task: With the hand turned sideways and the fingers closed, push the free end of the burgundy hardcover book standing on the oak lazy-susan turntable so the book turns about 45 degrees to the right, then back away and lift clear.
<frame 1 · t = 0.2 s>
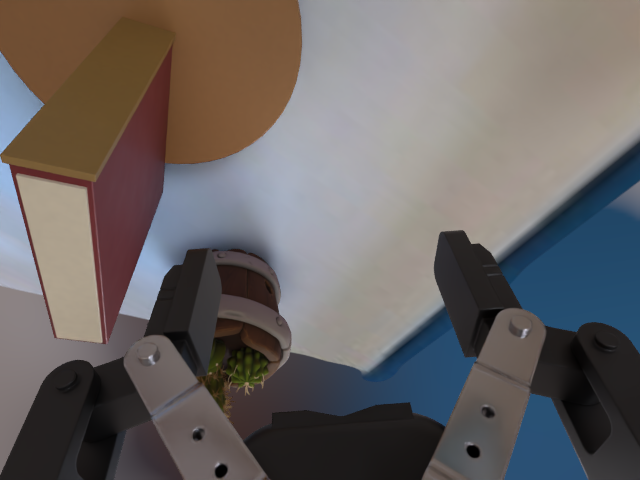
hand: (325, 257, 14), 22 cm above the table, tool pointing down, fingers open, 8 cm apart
flowerpot: (232, 272, 50), on the table
book: (116, 114, 23), point 10 cm above the table, hinge at 0.0°
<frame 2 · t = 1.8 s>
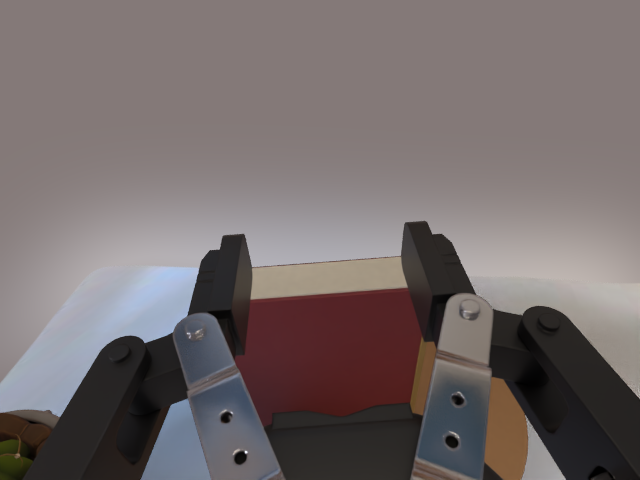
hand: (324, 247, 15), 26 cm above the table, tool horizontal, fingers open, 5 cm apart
book: (382, 352, 30), point 10 cm above the table, hinge at 0.0°
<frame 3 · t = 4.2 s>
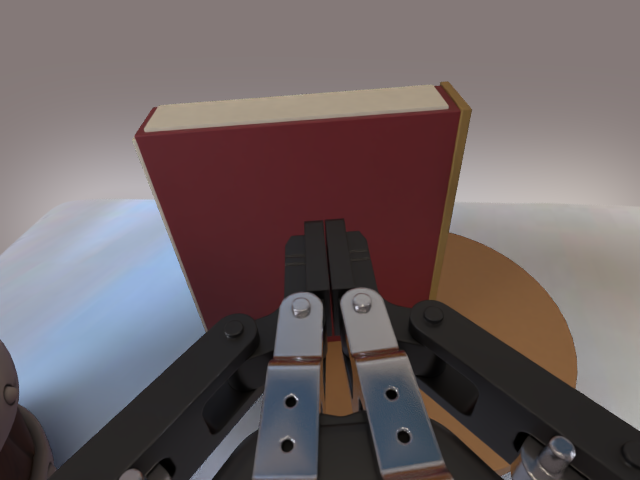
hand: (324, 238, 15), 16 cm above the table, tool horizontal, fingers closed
book: (392, 240, 23), point 10 cm above the table, hinge at 0.0°
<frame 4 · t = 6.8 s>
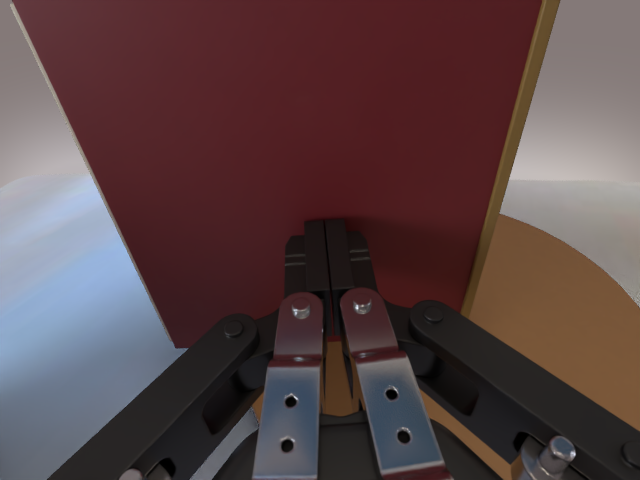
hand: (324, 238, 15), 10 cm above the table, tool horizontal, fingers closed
book: (419, 201, 16), point 10 cm above the table, hinge at 1.6°, touching gripper
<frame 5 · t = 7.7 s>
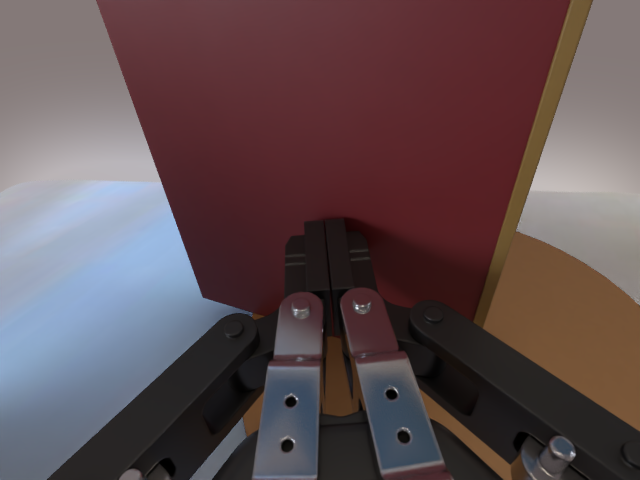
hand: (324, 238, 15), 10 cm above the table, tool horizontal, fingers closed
book: (435, 220, 15), point 10 cm above the table, hinge at 23.6°, touching gripper
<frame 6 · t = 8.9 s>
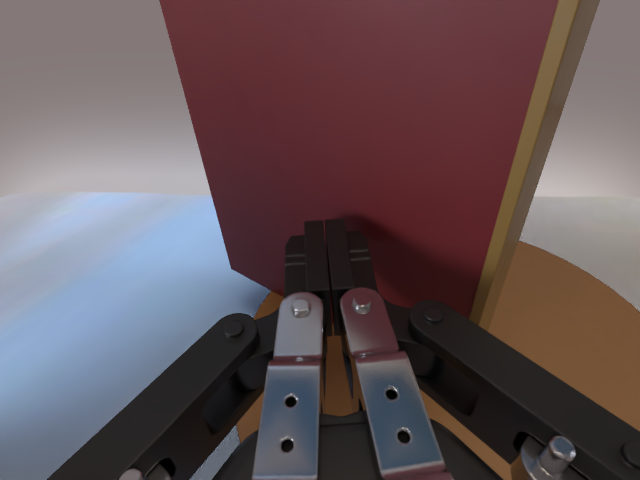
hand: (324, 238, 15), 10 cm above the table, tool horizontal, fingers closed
book: (440, 226, 15), point 10 cm above the table, hinge at 39.3°
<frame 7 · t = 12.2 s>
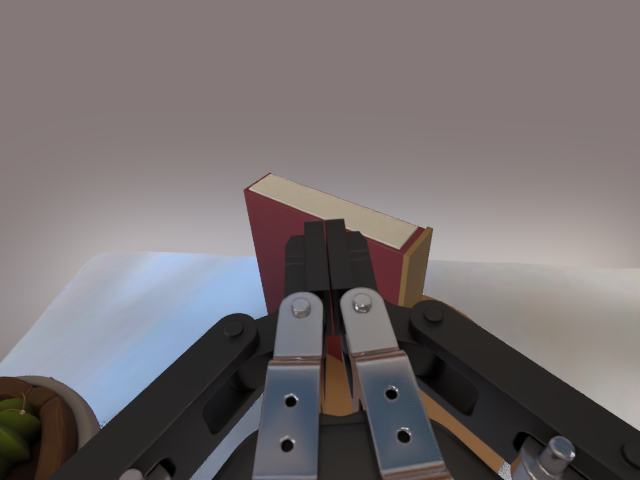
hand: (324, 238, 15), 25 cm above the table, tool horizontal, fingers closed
book: (380, 312, 31), point 10 cm above the table, hinge at 39.3°
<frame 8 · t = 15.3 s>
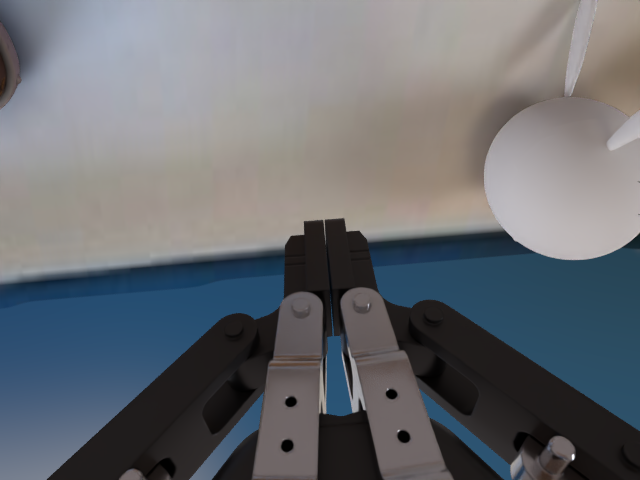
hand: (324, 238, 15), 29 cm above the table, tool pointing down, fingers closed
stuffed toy: (537, 104, 43), on the table
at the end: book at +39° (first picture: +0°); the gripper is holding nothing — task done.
